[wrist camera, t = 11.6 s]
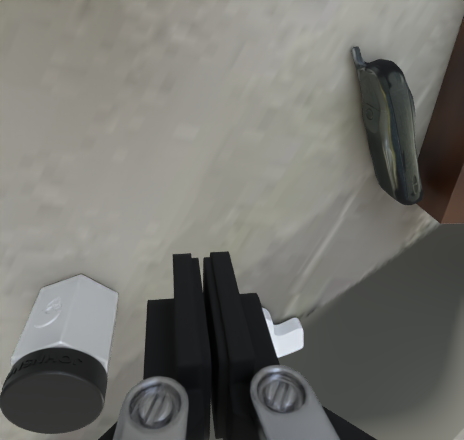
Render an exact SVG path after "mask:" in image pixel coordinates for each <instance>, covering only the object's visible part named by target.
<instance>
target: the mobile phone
mask: <svg viewBox="0 0 464 440" xmlns="http://www.w3.org/2000/svg"><path fill="white" fill-rule="evenodd" d="M351 52H352V56H353V60H354V63H355V66H356V69H357V73H358V78H359V81H360V87H361V92H362V98H363V108H362V112H363V119H364V124H365V127H366V131H367V136H368V141H369V148H370V152H371V155H372V159H373V163H374V168H375V173H376V177H377V179H378V182H379V185H380V186H381V188H382V189H383V190H385V191H386V192H387V193H388V194H389V195H390V196H391V197H393V198H394V199H395V200H397V201H398V202H400V203H401V204H404V205H412V204H415V203H418V202H420V201H421V200H422V199H423V195H424V194H423V189H422V185H421V180H420V174H419V166H418V158H417V152H416V146H415V108H414V101H413V96H412V94H411V91H410V89H409V87H408V85H407V83H406V80H405V77H404V74H403V72H402V71H401V69H400V68H399V67H398V66H397V65H396V64H395V63H394V62H392V61H388V60H383V59H378V60H376V61H373V62H370V63H366V62H364V61H363V59H362V57H361V53H360V49H359V47H353V48H352V49H351Z"/></svg>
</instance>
